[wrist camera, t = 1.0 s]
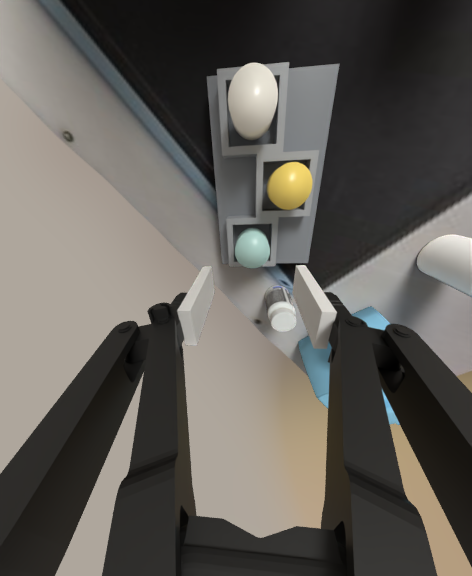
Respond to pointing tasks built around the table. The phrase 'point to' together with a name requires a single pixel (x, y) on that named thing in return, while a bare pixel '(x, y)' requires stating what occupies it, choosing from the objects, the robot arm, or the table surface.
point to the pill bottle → (280, 308)
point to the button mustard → (289, 185)
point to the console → (271, 160)
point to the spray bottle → (449, 261)
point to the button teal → (252, 248)
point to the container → (320, 366)
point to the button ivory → (252, 100)
